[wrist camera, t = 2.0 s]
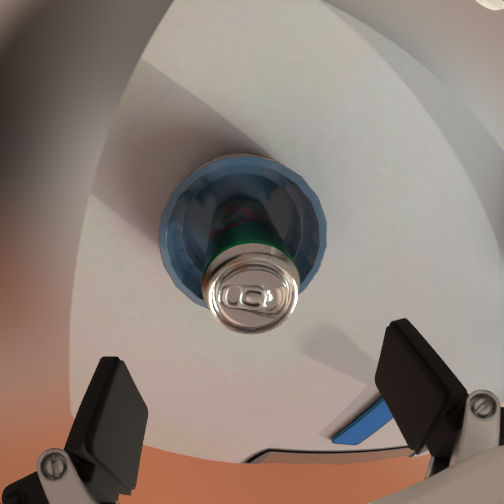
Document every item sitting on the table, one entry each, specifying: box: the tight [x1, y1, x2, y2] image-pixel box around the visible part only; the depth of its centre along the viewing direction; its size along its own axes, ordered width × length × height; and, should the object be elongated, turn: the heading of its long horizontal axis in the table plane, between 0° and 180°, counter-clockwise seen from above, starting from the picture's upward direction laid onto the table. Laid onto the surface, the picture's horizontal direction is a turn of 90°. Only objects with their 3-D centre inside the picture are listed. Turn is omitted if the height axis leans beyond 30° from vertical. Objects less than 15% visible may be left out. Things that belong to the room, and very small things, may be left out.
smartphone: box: [331, 397, 393, 445], centre depth 39 cm, size 7×1×15 cm
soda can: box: [201, 198, 300, 334], centre depth 19 cm, size 5×5×12 cm
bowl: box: [158, 153, 327, 309], centre depth 23 cm, size 12×12×5 cm
